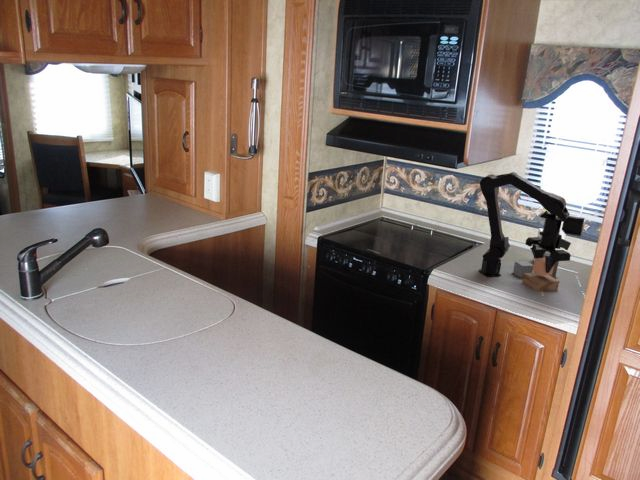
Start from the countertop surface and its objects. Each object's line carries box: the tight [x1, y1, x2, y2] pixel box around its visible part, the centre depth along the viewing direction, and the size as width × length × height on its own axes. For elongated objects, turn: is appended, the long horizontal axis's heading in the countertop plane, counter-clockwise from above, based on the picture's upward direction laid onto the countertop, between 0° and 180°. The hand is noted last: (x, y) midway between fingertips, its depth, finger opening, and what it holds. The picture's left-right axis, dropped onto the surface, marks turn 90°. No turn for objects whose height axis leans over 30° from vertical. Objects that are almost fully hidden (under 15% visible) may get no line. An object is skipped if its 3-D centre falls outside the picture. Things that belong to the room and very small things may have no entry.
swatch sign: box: [533, 255, 560, 279], centre depth 221 cm, size 8×5×8 cm, turn 66°
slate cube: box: [512, 260, 534, 279], centre depth 219 cm, size 5×5×5 cm
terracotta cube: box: [532, 258, 554, 276], centre depth 207 cm, size 5×5×5 cm
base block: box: [522, 272, 560, 293], centre depth 209 cm, size 9×9×4 cm
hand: (542, 270), depth 208 cm, fingers closed on terracotta cube, 5 cm apart
